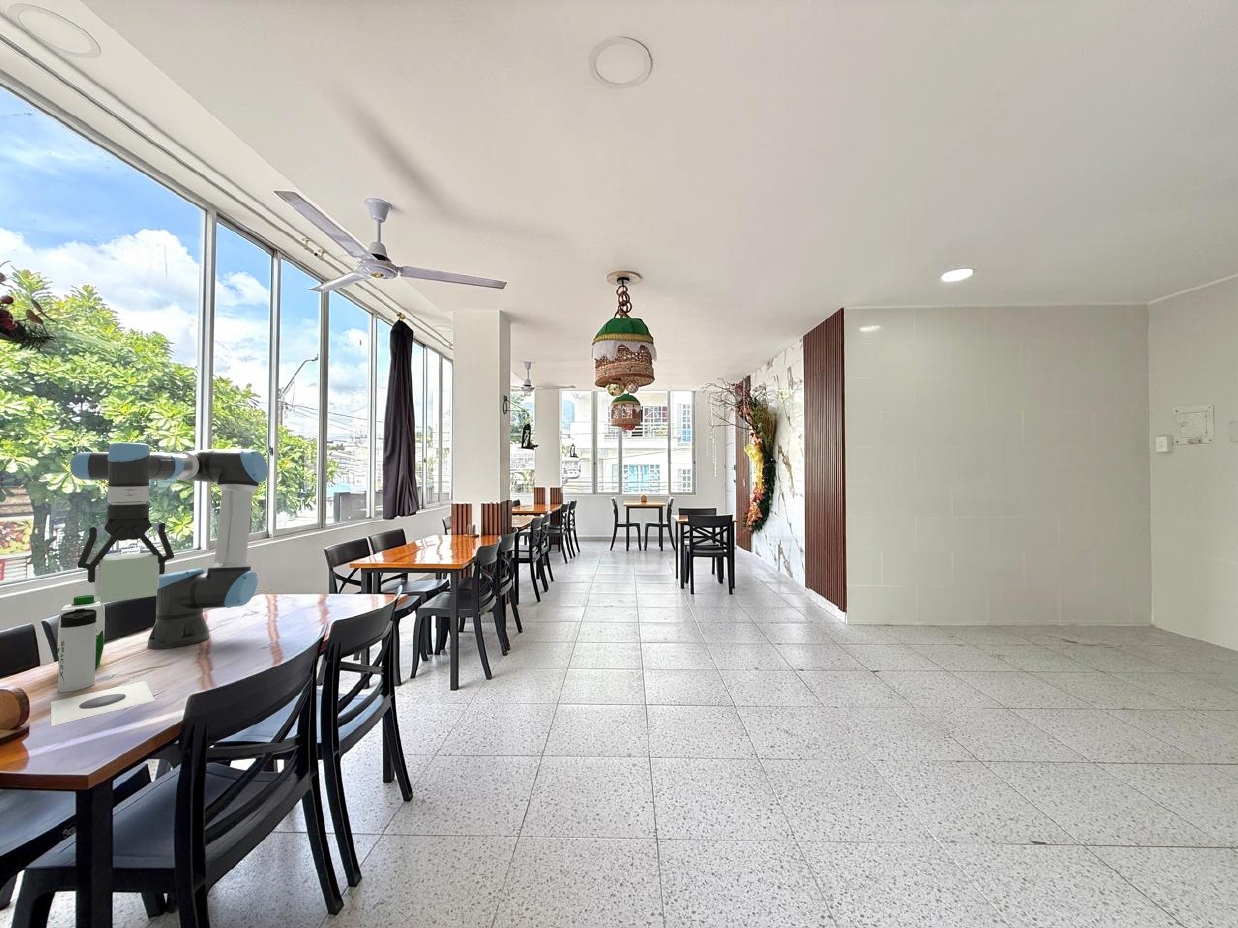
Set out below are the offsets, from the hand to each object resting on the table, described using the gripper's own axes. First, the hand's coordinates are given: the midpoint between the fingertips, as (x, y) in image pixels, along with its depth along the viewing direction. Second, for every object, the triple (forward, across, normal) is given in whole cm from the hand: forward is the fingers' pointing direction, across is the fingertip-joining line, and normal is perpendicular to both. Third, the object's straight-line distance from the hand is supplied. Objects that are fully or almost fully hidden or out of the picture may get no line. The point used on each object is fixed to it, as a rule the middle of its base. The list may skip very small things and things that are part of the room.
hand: (127, 591), depth 125 cm
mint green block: (+1, 0, 0) cm, 1 cm away
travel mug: (+25, -8, +9) cm, 28 cm away
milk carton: (+26, -7, +30) cm, 40 cm away
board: (+25, -4, -8) cm, 26 cm away
